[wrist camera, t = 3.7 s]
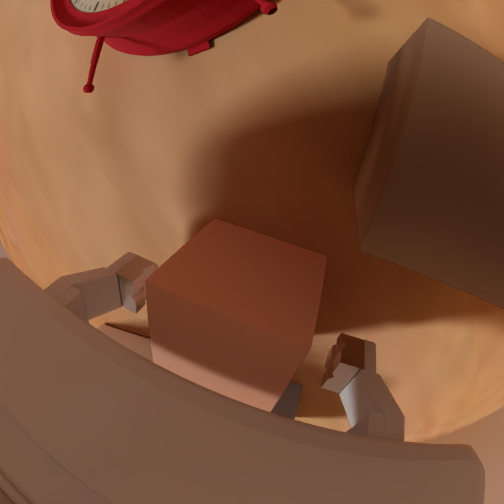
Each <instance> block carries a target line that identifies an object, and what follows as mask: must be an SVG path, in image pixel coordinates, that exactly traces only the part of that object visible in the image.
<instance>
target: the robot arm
mask: <svg viewBox="0 0 504 504" xmlns="http://www.w3.org/2000/svg"><path fill="white" fill-rule="evenodd" d="M157 269H158V265H157V264H156V263H154V262H152V261H149V260H147V259H145V258H143V257H141V256H138V255H136V254H134V253H132V252H127V253H126V254H125V255H123V256H122V257H121V258H119V259H118V260H117V261H115V262H114V263H113V264H112V265H110V266H109V267H108V268H104V267H103V268H99V269H94V270H90V271H85V272H80V273H76V274H71V275H67V276H62V277H60V278H59V279H57V280H56V281H55V282H54V283H52V284H51V285H50V286H48V287H47V288H46V289H45V290H43V289H42V288H41V287H39V286H38V285H37V284H36V283H35V282H33V281H32V280H31V279H30V278H29V277H28V276H27V275H25V274H24V273H23V272H22V271H21V270H20V269H19V268H18V267H16V266H15V265H14V264H13V263H12V262H11V261H10V260H9V259H8V258H5V257H2V258H0V504H483V503H484V492H485V470H484V467H483V465H482V463H481V461H480V459H479V457H478V456H477V454H476V452H475V451H474V449H473V448H472V447H471V446H470V445H467V444H430V443H416V442H405V441H404V415H403V413H402V411H401V410H400V408H399V406H398V405H397V403H396V401H395V399H394V398H393V396H392V394H391V393H390V391H389V389H388V388H387V386H386V385H385V383H384V381H383V380H382V378H381V376H380V375H379V374H377V373H376V344H375V343H374V342H371V341H367V340H363V339H360V338H357V337H353V336H350V335H347V334H344V333H341V334H340V335H339V337H338V338H337V342H336V345H333V346H332V348H331V349H330V351H329V353H328V356H327V358H326V362H325V368H326V372H325V373H324V375H323V379H322V385H321V388H323V389H326V390H330V391H333V392H336V393H340V394H339V395H340V398H341V401H342V403H343V406H344V409H345V411H346V414H347V417H348V420H349V422H350V425H351V429H349V430H348V431H347V432H342V431H337V430H332V429H328V428H324V427H320V426H316V425H312V424H308V423H304V422H301V421H297V420H294V419H290V418H287V417H284V416H280V415H277V414H274V413H271V412H268V411H265V410H262V409H259V408H256V407H253V406H251V405H248V404H245V403H242V402H240V401H237V400H234V399H232V398H229V397H227V396H224V395H222V394H219V393H217V392H215V391H212V390H210V389H208V388H205V387H203V386H201V385H198V384H196V383H194V382H192V381H190V380H188V379H185V378H183V377H181V376H179V375H177V374H175V373H173V372H171V371H169V370H167V369H165V368H163V367H161V366H159V365H157V364H156V363H154V362H152V361H150V360H148V359H146V358H144V357H143V356H141V355H139V354H137V353H136V352H134V351H132V350H130V349H129V348H127V347H125V346H123V345H122V344H120V343H119V342H117V341H115V340H114V339H112V338H110V337H109V336H107V335H106V334H104V333H103V332H101V331H99V330H98V329H96V328H95V327H93V326H92V325H90V324H89V321H88V320H89V319H92V318H95V317H97V316H100V315H102V314H105V313H107V312H110V311H112V310H115V309H117V308H120V307H122V306H123V307H125V308H127V309H129V310H131V311H133V312H135V313H137V312H138V311H139V310H140V309H141V308H142V307H143V306H144V305H145V300H146V285H145V280H146V279H147V278H148V277H150V276H151V275H152V274H153V273H154V272H155V271H156V270H157Z"/></svg>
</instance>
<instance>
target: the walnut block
mask: <svg viewBox="0 0 504 504" xmlns="http://www.w3.org/2000/svg"><path fill="white" fill-rule="evenodd" d="M353 193H354V201H355V208H356V217H357V226H358V236H359V247H360V251H363V252H365V253H368V254H371V255H374V256H376V257H379V258H382V259H384V260H387V261H389V262H392V263H395V264H397V265H400V266H402V267H405V268H408V269H410V270H413V271H415V272H418V273H420V274H423V275H425V276H428V277H430V278H433V279H435V280H438V281H440V282H442V283H445V284H447V285H450V286H452V287H454V288H457V289H459V290H462V291H464V292H466V293H469V294H471V295H473V296H476V297H478V298H480V299H482V300H485V301H487V302H489V303H491V304H494V305H496V306H498V307H500V308H503V309H504V63H503V62H502V61H500V60H499V59H498V58H496V57H495V56H494V55H492V54H491V53H489V52H488V51H486V50H485V49H483V48H482V47H480V46H479V45H477V44H476V43H474V42H473V41H471V40H469V39H468V38H466V37H464V36H463V35H461V34H459V33H457V32H456V31H454V30H452V29H450V28H448V27H446V26H445V25H443V24H441V23H439V22H437V21H435V20H433V19H430V18H427V19H426V20H425V21H424V22H423V23H422V25H421V26H420V27H419V28H418V29H417V30H416V31H415V32H414V34H413V35H412V36H411V37H410V38H409V39H408V40H407V42H406V43H405V44H404V45H403V46H402V47H401V48H400V50H399V51H398V52H397V53H396V54H395V55H394V57H393V58H392V59H391V60H390V61H389V62H388V67H387V71H386V76H385V80H384V84H383V88H382V92H381V96H380V100H379V104H378V108H377V111H376V115H375V119H374V122H373V126H372V129H371V133H370V136H369V139H368V143H367V146H366V149H365V153H364V156H363V159H362V162H361V165H360V168H359V171H358V175H357V178H356V181H355V183H354V186H353Z"/></svg>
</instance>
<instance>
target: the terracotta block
mask: <svg viewBox="0 0 504 504" xmlns="http://www.w3.org/2000/svg"><path fill="white" fill-rule="evenodd" d="M326 264H327V256H325V255H322V254H319V253H316V252H313V251H310V250H307V249H304V248H302V247H299V246H296V245H293V244H290V243H287V242H284V241H281V240H278V239H275V238H272V237H269V236H267V235H264V234H261V233H258V232H255V231H252V230H249V229H246V228H243V227H240V226H237V225H234V224H231V223H227V222H224V221H221V220H218V219H215V218H214V219H213V220H212V221H211V222H210V223H208V224H207V225H206V226H205V227H204V228H203V229H202V230H200V231H199V232H198V233H197V234H196V235H195V236H194V237H192V238H191V239H190V240H189V241H188V242H187V243H186V244H185V245H183V246H182V247H181V248H180V249H179V250H178V251H177V252H176V253H175V254H173V255H172V256H171V257H170V258H169V259H168V260H167V261H166V262H165V263H164V264H162V265H161V266H160V267H159V268H158V269H157V270H156V271H155V272H154V273H153V274H152V275H151V276H150V277H148V278H147V279H146V280H145V285H146V300H147V312H148V322H149V332H150V340H151V348H152V356H153V362H154V363H156V364H157V365H159V366H161V367H163V368H165V369H167V370H169V371H171V372H173V373H175V374H177V375H179V376H181V377H183V378H185V379H188V380H190V381H192V382H194V383H196V384H198V385H201V386H203V387H205V388H208V389H210V390H212V391H215V392H217V393H219V394H222V395H224V396H227V397H229V398H232V399H234V400H237V401H240V402H242V403H245V404H248V405H251V406H253V407H256V408H259V409H262V410H265V411H268V412H271V410H272V409H273V407H274V406H275V404H276V403H277V401H278V400H279V398H280V397H281V395H282V394H283V392H284V390H285V389H286V387H287V386H288V384H289V383H290V381H291V379H292V378H293V376H294V375H295V373H296V371H297V370H298V368H299V366H300V365H301V363H302V361H303V360H304V358H305V356H306V355H307V353H308V351H309V349H310V348H311V345H312V340H313V336H314V331H315V326H316V321H317V316H318V310H319V305H320V300H321V294H322V288H323V282H324V276H325V270H326Z"/></svg>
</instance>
